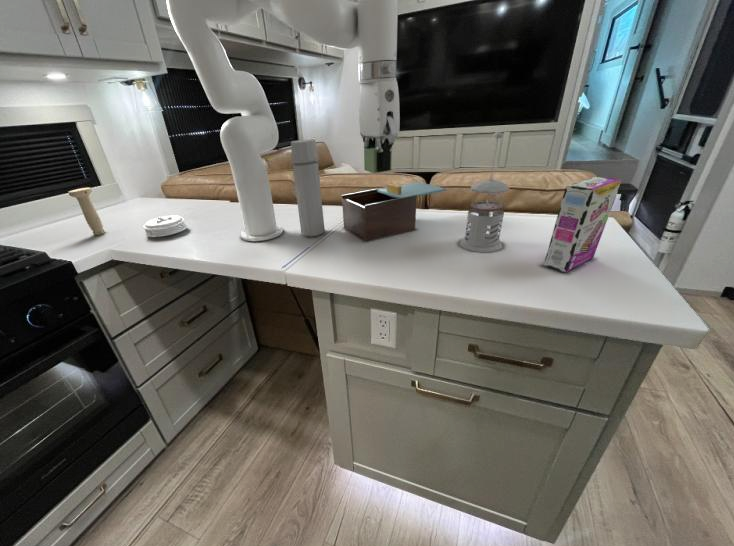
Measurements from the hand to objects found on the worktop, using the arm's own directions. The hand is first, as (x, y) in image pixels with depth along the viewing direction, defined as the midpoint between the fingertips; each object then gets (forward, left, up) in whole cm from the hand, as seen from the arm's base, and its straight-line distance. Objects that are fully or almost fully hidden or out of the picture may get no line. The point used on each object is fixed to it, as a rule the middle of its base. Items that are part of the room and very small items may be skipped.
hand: (377, 168), depth 76 cm
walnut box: (-12, +7, -19) cm, 23 cm away
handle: (-66, -73, -19) cm, 100 cm away
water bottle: (-21, -10, -19) cm, 30 cm away
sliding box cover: (-12, +18, -10) cm, 24 cm away
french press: (+13, +22, -19) cm, 32 cm away
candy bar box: (+31, +28, -19) cm, 46 cm away
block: (0, 0, 0) cm, 0 cm away
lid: (-51, -51, -19) cm, 74 cm away
